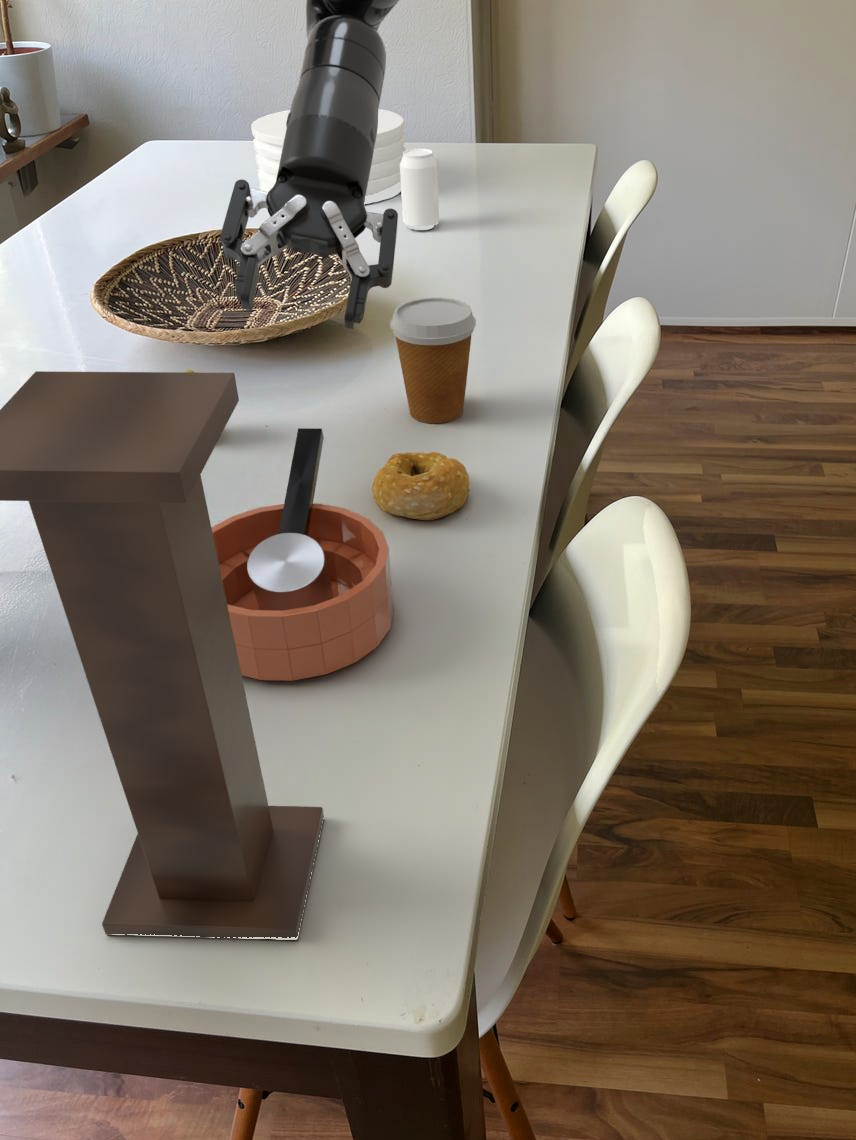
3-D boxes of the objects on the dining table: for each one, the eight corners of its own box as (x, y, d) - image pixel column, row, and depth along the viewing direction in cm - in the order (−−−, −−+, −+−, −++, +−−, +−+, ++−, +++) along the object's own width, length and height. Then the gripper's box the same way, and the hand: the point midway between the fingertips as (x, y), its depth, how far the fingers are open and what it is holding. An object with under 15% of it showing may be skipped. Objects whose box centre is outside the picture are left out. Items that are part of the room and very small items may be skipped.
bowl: (174, 684, 82) (156, 614, 77) (224, 567, 95) (211, 501, 90) (381, 688, 81) (374, 618, 77) (402, 569, 94) (397, 504, 90)
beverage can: (438, 232, 173) (435, 156, 166) (401, 233, 173) (397, 156, 166) (440, 221, 178) (437, 147, 170) (404, 222, 178) (400, 147, 171)
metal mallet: (253, 628, 86) (241, 591, 82) (284, 465, 97) (274, 426, 93) (328, 629, 86) (320, 592, 82) (351, 465, 97) (344, 426, 93)
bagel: (474, 473, 108) (473, 432, 105) (466, 529, 99) (465, 486, 96) (381, 471, 109) (377, 430, 106) (365, 526, 100) (361, 483, 97)
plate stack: (355, 161, 211) (350, 99, 204) (436, 189, 194) (433, 123, 187) (234, 185, 198) (224, 120, 191) (308, 218, 180) (300, 148, 173)
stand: (105, 936, 63) (-79, 469, 43) (153, 814, 71) (15, 370, 51) (298, 941, 63) (202, 472, 42) (324, 818, 70) (254, 372, 50)
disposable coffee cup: (442, 438, 114) (438, 334, 107) (379, 415, 119) (371, 314, 112) (493, 407, 120) (493, 307, 113) (431, 387, 125) (427, 289, 117)
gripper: (410, 184, 92) (381, 350, 89) (251, 152, 91) (217, 320, 88) (414, 130, 84) (383, 309, 82) (241, 94, 83) (203, 275, 80)
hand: (297, 314), depth 85 cm, fingers open, 8 cm apart
